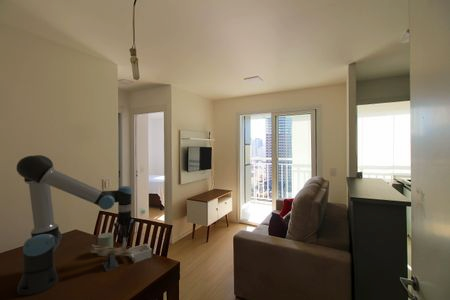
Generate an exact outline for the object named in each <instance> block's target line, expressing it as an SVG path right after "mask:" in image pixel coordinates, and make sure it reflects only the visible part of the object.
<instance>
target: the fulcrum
mask: <svg viewBox="0 0 450 300" xmlns="http://www.w3.org/2000/svg"><path fill="white" fill-rule="evenodd" d="M101 263H102V267H103V268H104V271H105V272H108V271H112V270H115V269H118V268H120V264H119V263H118V261H117V259H116V255H115V253H114V254H110V255H109V254H107V255H106V261H103V262H101Z"/></svg>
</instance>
